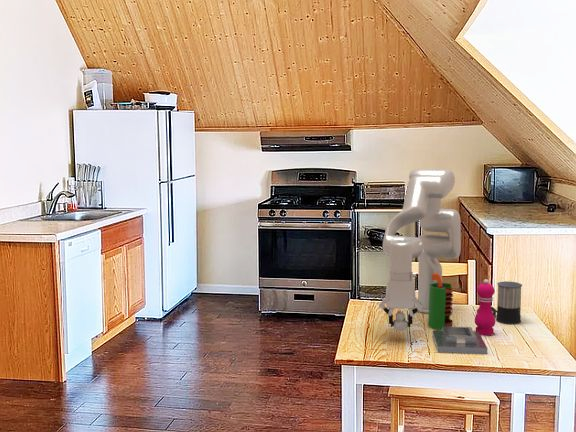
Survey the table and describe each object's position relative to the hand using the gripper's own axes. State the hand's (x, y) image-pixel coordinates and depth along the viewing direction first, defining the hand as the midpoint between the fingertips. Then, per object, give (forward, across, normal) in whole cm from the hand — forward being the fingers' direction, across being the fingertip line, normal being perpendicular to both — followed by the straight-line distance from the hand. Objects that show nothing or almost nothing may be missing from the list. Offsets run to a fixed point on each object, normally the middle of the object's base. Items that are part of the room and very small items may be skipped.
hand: (400, 325), depth 223 cm
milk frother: (+7, -39, -30) cm, 50 cm away
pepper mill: (+6, -31, -11) cm, 33 cm away
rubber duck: (+2, 0, 0) cm, 2 cm away
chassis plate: (+5, -20, +3) cm, 21 cm away
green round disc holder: (+6, -16, -18) cm, 24 cm away
